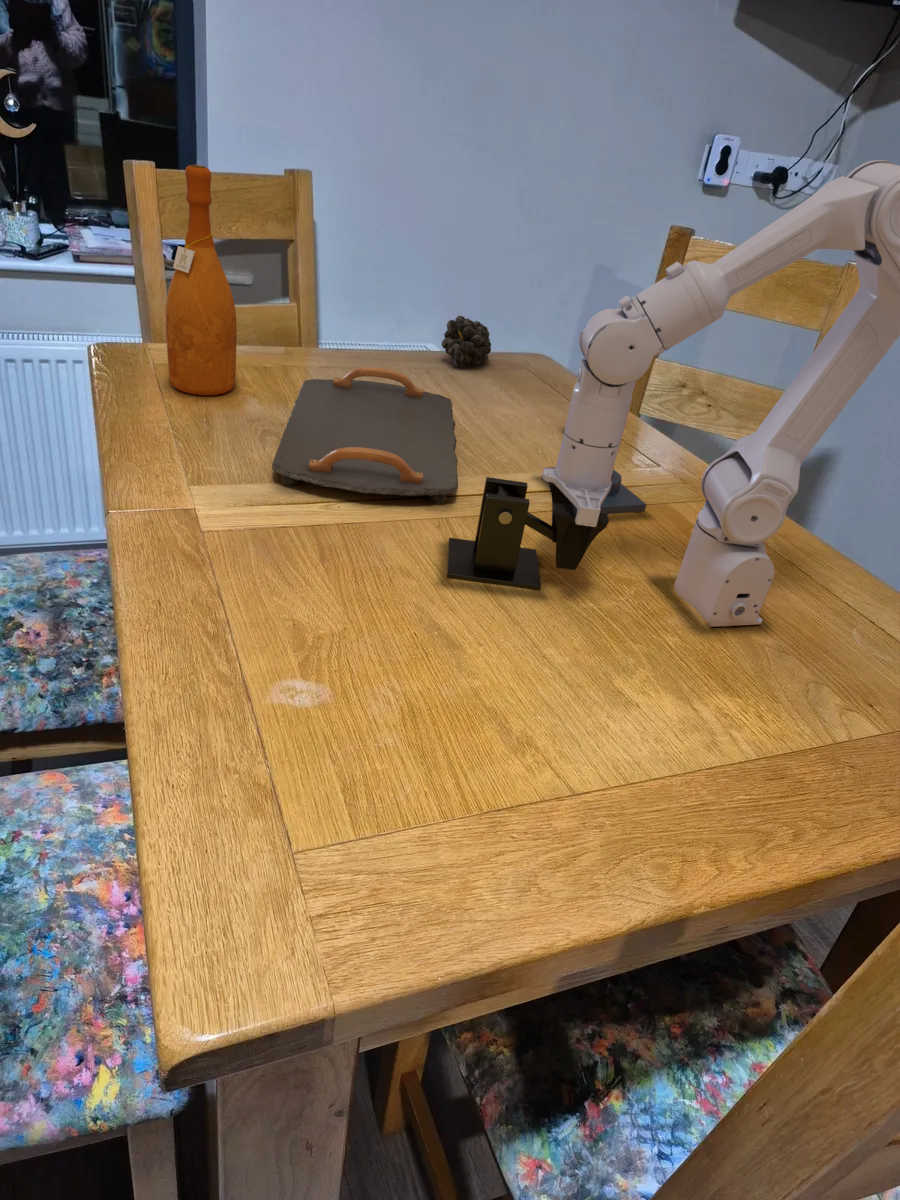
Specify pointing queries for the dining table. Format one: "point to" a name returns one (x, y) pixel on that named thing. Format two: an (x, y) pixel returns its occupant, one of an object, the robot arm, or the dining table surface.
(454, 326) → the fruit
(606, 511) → the base unit
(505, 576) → the mini lever press
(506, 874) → the dining table surface
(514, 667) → the dining table surface
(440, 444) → the serving tray
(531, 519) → the switch lever
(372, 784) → the dining table surface
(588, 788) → the dining table surface
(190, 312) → the wine bottle
